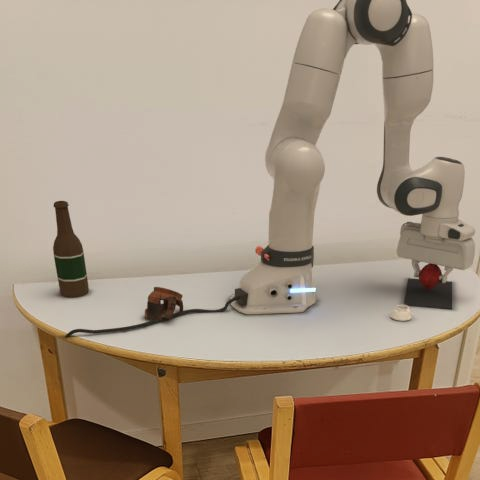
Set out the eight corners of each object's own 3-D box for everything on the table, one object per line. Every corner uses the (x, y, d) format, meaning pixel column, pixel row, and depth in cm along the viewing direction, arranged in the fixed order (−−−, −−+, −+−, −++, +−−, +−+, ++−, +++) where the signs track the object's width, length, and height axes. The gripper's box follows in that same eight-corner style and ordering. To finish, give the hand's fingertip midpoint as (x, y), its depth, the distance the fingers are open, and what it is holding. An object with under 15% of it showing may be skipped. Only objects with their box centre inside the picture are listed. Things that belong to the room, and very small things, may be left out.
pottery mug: (136, 316, 150) (145, 284, 150) (170, 326, 155) (178, 295, 155) (154, 319, 140) (163, 285, 140) (189, 330, 145) (198, 297, 145)
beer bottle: (54, 295, 163) (38, 203, 150) (71, 287, 169) (57, 197, 156) (78, 299, 160) (63, 205, 148) (95, 290, 166) (82, 199, 154)
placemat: (452, 309, 151) (452, 308, 151) (403, 305, 154) (403, 304, 154) (451, 282, 169) (452, 281, 169) (408, 279, 172) (408, 278, 172)
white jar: (391, 313, 149) (389, 320, 145) (393, 302, 148) (390, 309, 144) (412, 315, 148) (410, 323, 144) (414, 304, 146) (411, 311, 142)
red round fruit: (441, 293, 159) (447, 263, 155) (420, 293, 159) (424, 263, 155) (436, 286, 164) (440, 256, 160) (414, 286, 164) (419, 257, 160)
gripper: (395, 222, 157) (389, 274, 164) (470, 235, 145) (460, 290, 152) (408, 218, 161) (401, 269, 168) (481, 230, 149) (471, 284, 156)
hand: (429, 279), depth 160 cm, fingers closed on red round fruit, 6 cm apart
